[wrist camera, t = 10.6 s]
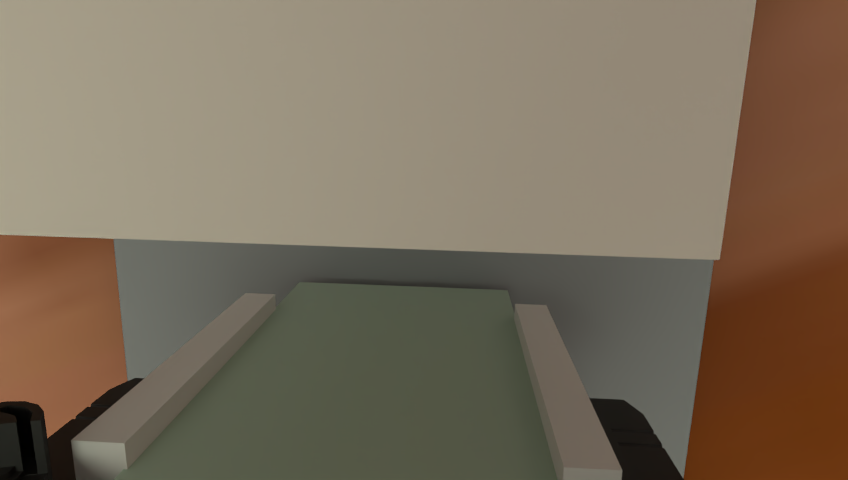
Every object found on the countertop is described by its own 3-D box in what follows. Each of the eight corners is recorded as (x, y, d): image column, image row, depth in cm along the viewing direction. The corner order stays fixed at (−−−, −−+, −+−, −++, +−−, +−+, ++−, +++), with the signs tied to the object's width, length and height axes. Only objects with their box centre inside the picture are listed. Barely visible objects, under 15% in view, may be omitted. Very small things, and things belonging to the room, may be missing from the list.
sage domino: (507, 290, 16) (695, 947, 3) (503, 355, 16) (658, 1152, 4) (299, 282, 16) (-241, 855, 4) (301, 346, 17) (-177, 1056, 4)
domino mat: (848, -807, 12) (869, -855, 11) (650, 656, 20) (656, 672, 20) (30, -758, 13) (9, -801, 12) (161, 621, 21) (153, 636, 21)
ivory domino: (516, 71, 16) (772, -115, 3) (512, 145, 16) (720, 258, 3) (302, 67, 16) (-310, -118, 3) (303, 139, 16) (-228, 227, 4)
